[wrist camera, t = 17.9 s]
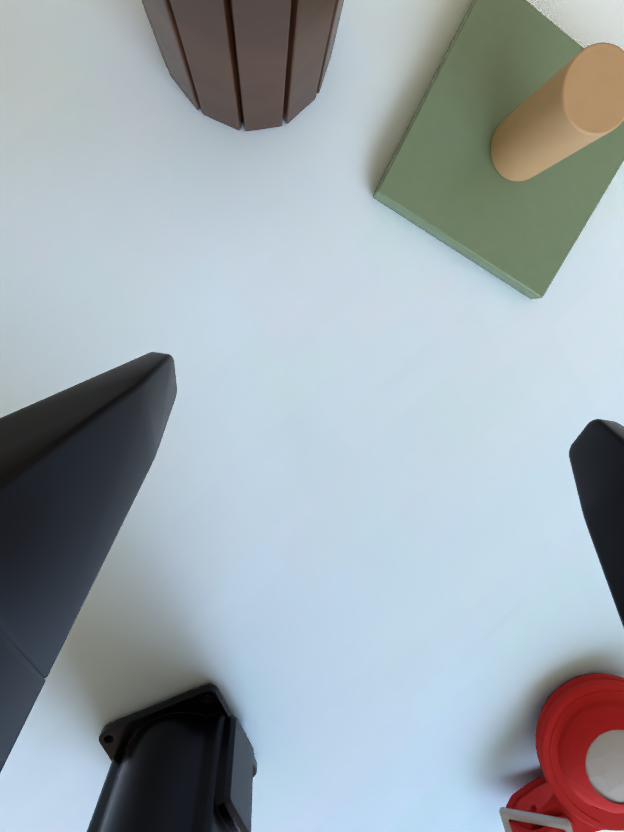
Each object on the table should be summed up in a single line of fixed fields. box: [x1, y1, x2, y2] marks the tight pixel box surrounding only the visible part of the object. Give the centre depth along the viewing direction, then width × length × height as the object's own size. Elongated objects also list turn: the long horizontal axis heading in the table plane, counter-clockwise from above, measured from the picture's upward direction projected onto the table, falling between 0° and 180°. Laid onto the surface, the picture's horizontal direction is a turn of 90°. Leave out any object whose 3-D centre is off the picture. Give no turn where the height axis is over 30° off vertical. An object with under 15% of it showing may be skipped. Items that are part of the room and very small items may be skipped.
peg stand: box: [373, 0, 624, 299], centre depth 15 cm, size 9×9×5 cm
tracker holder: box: [499, 674, 624, 832], centre depth 24 cm, size 12×4×10 cm
